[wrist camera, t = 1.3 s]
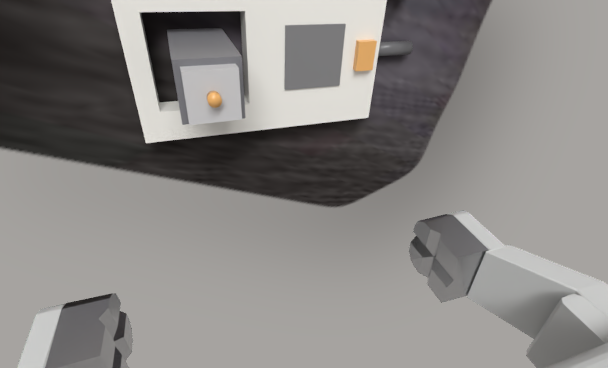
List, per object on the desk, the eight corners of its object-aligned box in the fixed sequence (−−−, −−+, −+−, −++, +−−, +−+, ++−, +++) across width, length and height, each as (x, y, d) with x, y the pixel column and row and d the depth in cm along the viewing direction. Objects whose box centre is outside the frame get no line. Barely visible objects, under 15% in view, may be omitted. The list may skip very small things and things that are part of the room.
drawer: (175, 82, 28) (184, 136, 21) (166, 29, 26) (172, 68, 18) (225, 79, 29) (250, 128, 22) (221, 28, 27) (247, 63, 20)
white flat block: (146, 132, 30) (145, 146, 28) (106, -36, 23) (101, -33, 21) (393, 106, 37) (407, 116, 35) (419, -28, 30) (438, -25, 28)
